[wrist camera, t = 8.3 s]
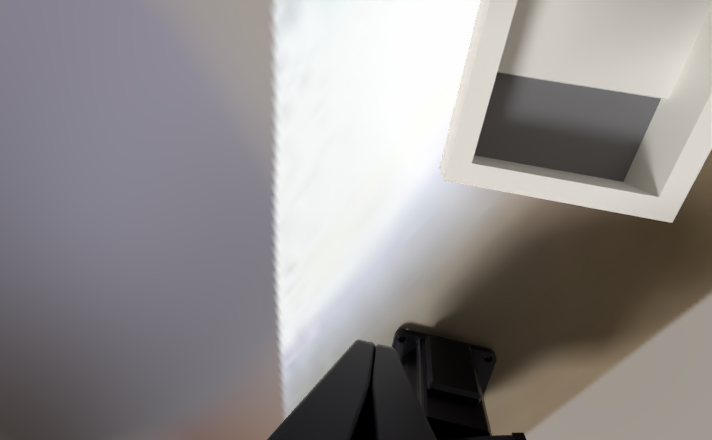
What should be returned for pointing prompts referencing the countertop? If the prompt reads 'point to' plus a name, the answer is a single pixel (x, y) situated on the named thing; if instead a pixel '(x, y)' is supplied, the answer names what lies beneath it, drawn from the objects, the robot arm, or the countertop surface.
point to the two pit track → (586, 103)
